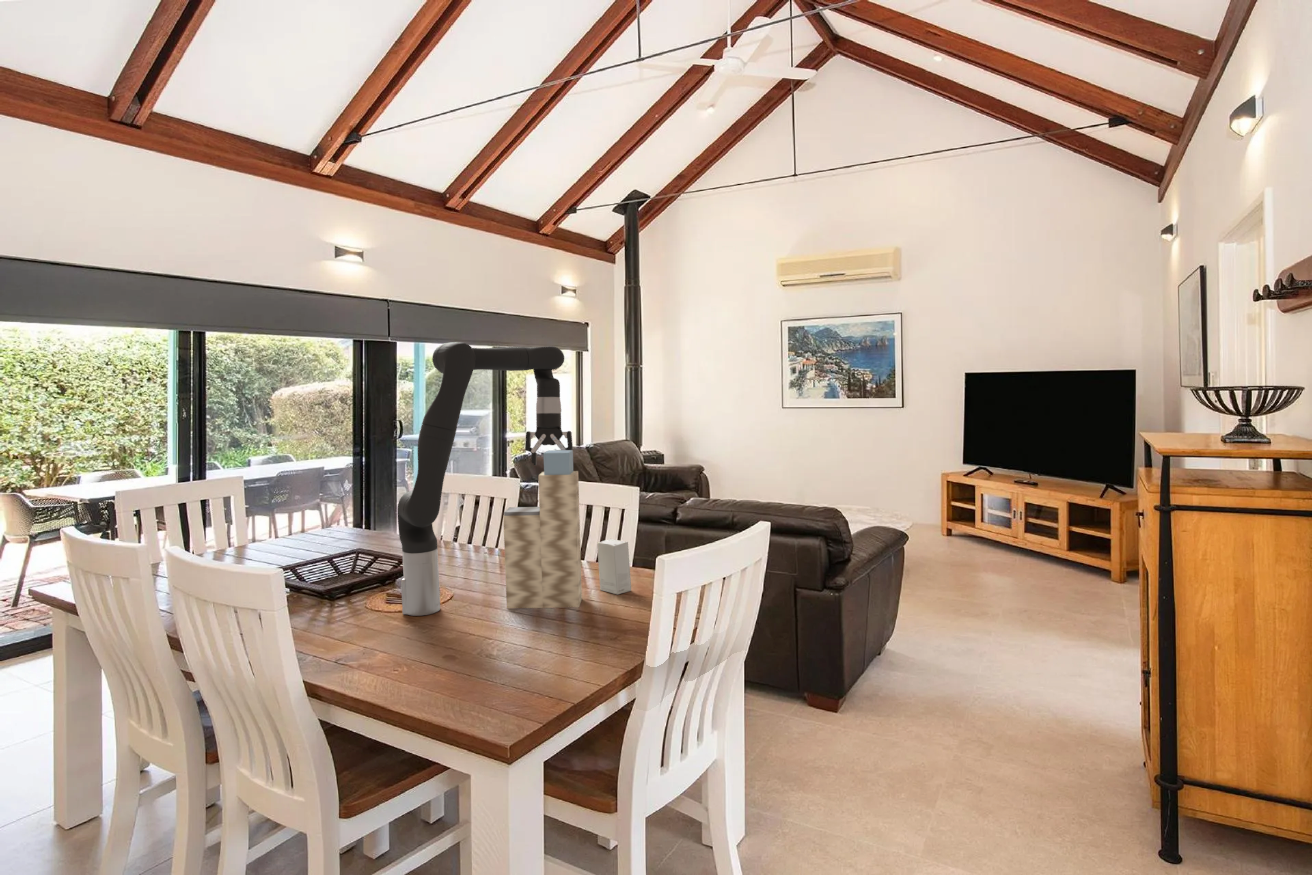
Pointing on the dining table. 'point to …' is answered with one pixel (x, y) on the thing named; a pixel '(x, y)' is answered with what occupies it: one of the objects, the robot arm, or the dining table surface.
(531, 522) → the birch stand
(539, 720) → the dining table surface
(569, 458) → the blue handle block
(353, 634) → the dining table surface
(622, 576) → the skincare box
